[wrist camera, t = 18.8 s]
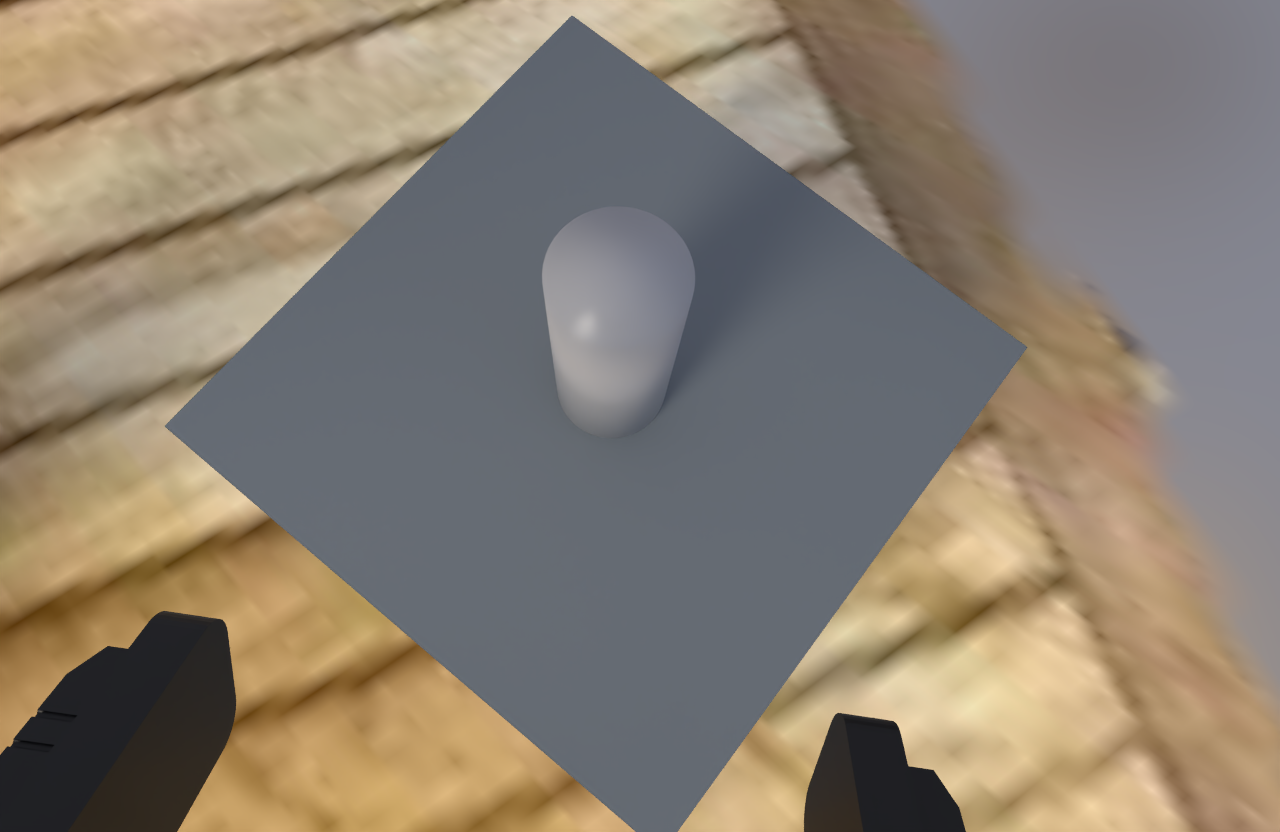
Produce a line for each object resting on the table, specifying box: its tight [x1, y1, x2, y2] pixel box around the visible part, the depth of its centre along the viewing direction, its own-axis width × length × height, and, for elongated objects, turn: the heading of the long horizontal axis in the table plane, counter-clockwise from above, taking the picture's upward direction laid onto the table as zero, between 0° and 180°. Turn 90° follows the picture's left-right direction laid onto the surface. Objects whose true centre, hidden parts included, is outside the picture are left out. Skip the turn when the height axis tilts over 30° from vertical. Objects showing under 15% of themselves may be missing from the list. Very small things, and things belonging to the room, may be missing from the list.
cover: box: [165, 16, 1027, 832], centre depth 31 cm, size 18×18×25 cm
